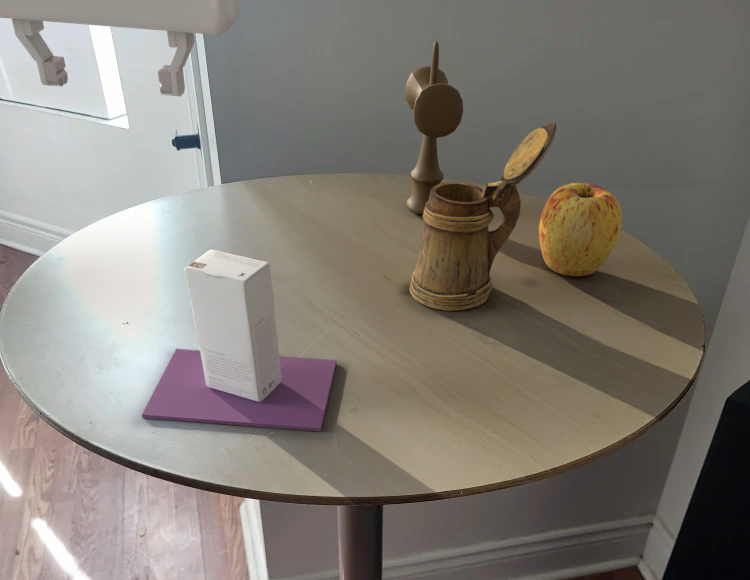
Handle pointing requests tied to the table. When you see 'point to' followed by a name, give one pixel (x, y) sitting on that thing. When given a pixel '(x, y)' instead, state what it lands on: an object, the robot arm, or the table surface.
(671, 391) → the table surface
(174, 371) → the purple rectangular board
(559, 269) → the apple
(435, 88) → the kendama
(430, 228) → the wooden mug
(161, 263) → the table surface
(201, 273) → the cosmetic box
